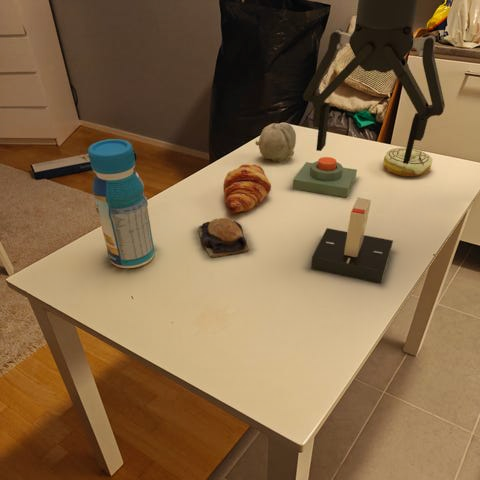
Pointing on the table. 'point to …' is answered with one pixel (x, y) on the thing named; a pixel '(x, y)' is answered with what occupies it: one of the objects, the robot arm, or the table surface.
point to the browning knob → (357, 227)
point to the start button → (327, 164)
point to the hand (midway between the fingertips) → (362, 154)
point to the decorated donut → (416, 164)
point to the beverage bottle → (121, 203)
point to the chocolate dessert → (223, 237)
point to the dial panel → (362, 267)
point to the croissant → (245, 187)
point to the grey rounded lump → (277, 142)
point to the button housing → (325, 180)
